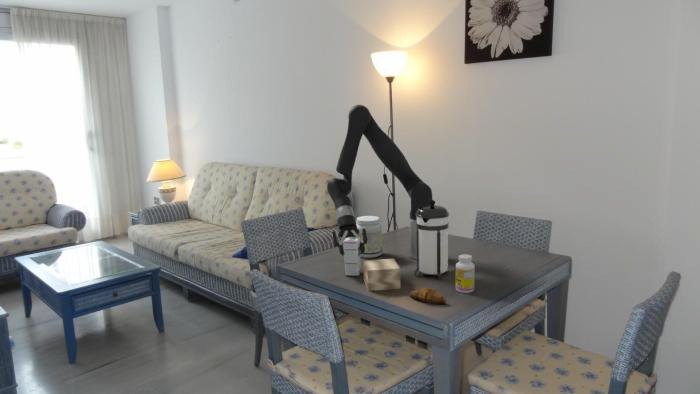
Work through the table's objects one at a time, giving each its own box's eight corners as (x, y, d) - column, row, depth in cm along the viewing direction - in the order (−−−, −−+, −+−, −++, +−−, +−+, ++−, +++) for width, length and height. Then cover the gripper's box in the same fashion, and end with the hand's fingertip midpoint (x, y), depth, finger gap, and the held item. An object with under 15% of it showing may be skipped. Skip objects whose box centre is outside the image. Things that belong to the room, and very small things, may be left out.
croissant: (450, 301, 173) (450, 287, 172) (441, 308, 168) (441, 294, 167) (414, 294, 181) (414, 280, 180) (405, 300, 175) (405, 286, 174)
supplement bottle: (453, 287, 185) (453, 253, 183) (470, 286, 186) (471, 252, 184) (458, 294, 179) (458, 259, 176) (476, 293, 179) (477, 258, 177)
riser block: (393, 278, 198) (393, 258, 196) (400, 289, 186) (400, 268, 185) (363, 280, 196) (363, 260, 195) (368, 291, 185) (367, 270, 183)
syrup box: (358, 275, 200) (357, 240, 197) (344, 275, 201) (343, 240, 198) (361, 271, 205) (360, 236, 203) (347, 270, 206) (346, 236, 204)
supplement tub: (352, 252, 233) (351, 216, 230) (377, 249, 236) (376, 214, 233) (360, 259, 221) (359, 222, 218) (386, 256, 225) (385, 219, 221)
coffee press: (459, 278, 195) (460, 202, 189) (419, 281, 192) (419, 204, 187) (444, 264, 211) (444, 194, 206) (407, 267, 209) (406, 196, 203)
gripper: (329, 215, 204) (336, 251, 196) (364, 212, 207) (372, 247, 198) (328, 225, 211) (334, 260, 202) (361, 222, 214) (369, 256, 205)
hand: (353, 253), depth 200 cm, fingers closed on syrup box, 7 cm apart
